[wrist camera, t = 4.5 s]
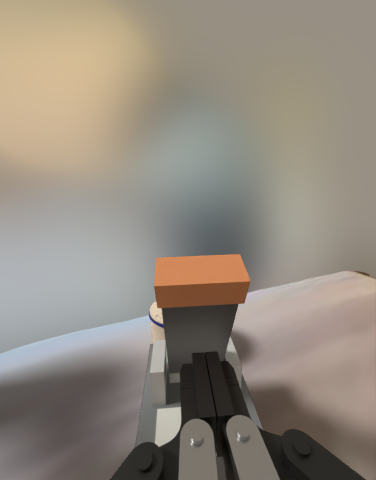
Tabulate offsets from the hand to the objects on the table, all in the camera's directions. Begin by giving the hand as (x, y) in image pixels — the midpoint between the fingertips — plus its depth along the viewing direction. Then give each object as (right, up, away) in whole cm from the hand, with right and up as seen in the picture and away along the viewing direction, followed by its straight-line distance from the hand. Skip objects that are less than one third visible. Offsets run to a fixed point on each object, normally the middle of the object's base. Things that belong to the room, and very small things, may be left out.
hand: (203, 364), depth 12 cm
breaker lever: (0, -6, +9) cm, 11 cm away
